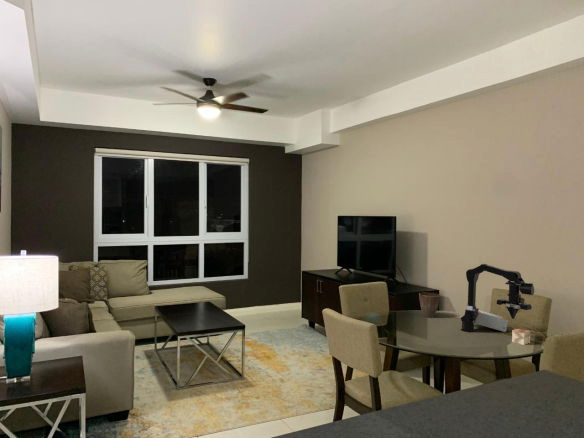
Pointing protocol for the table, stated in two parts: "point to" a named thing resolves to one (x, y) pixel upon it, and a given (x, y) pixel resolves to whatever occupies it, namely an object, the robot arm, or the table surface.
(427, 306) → the plant pot
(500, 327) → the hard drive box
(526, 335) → the birch block
